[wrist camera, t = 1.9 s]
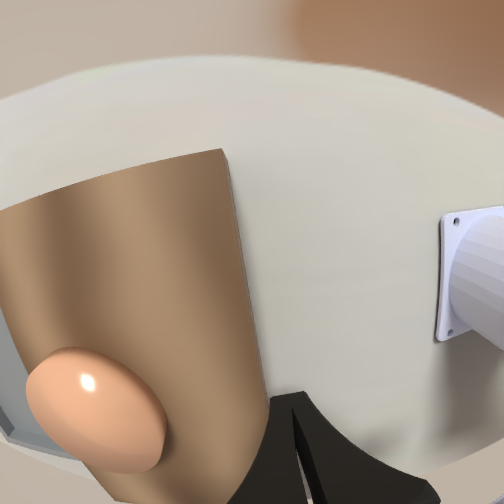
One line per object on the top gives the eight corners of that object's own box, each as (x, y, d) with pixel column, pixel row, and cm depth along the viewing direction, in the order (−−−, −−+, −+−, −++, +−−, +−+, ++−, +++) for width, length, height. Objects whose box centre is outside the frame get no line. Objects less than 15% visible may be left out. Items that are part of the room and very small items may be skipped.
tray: (28, 245, 14) (9, 252, 12) (113, 449, 17) (107, 465, 15) (-56, 270, 14) (-70, 276, 12) (15, 430, 17) (7, 441, 15)
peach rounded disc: (139, 342, 11) (126, 364, 9) (185, 455, 12) (181, 477, 11) (21, 346, 11) (4, 361, 9) (76, 446, 12) (67, 464, 11)
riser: (226, 159, 13) (221, 148, 9) (278, 460, 18) (284, 502, 14) (25, 210, 13) (-21, 219, 9) (127, 464, 18) (115, 500, 14)
